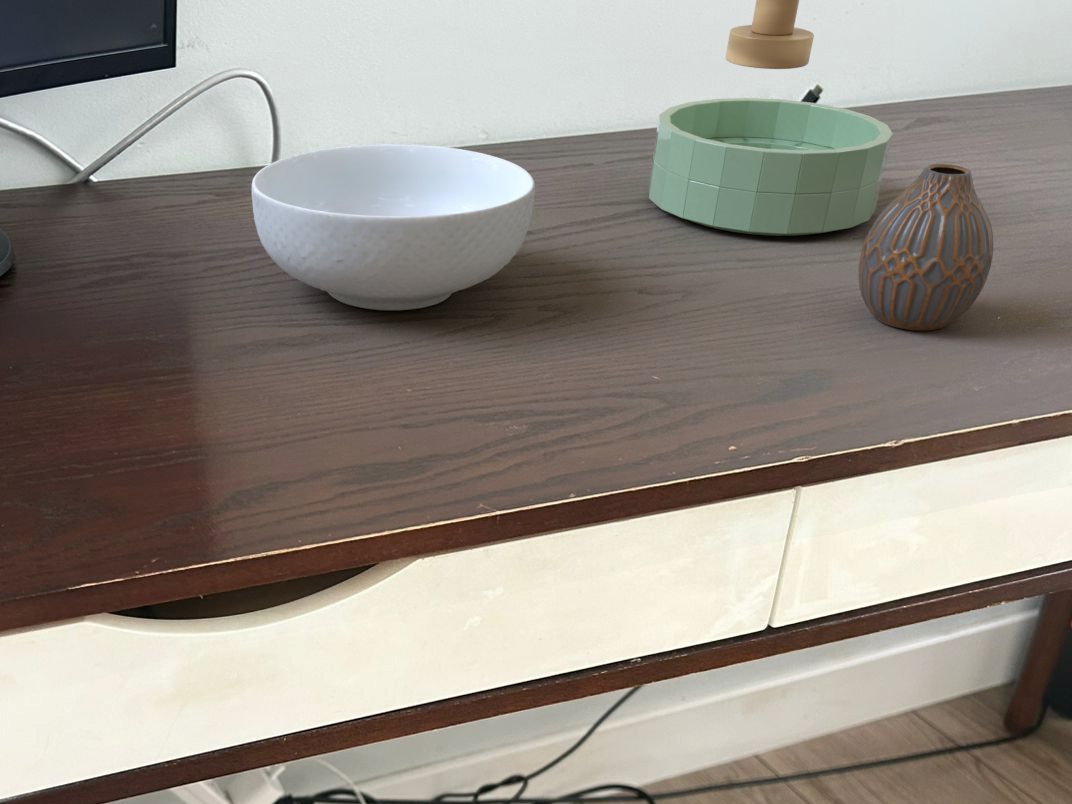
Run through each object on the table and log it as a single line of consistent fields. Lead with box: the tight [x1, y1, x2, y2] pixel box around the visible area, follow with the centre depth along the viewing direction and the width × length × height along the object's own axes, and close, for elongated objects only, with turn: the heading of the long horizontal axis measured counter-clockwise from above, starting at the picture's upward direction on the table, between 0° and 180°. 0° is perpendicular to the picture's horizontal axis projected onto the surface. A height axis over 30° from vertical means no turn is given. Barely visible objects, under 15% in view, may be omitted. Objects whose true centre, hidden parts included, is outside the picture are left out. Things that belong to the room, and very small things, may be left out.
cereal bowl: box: [251, 143, 536, 311], centre depth 84 cm, size 17×17×7 cm
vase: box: [858, 163, 994, 332], centre depth 79 cm, size 7×7×9 cm
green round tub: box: [648, 97, 894, 237], centre depth 98 cm, size 16×16×6 cm
